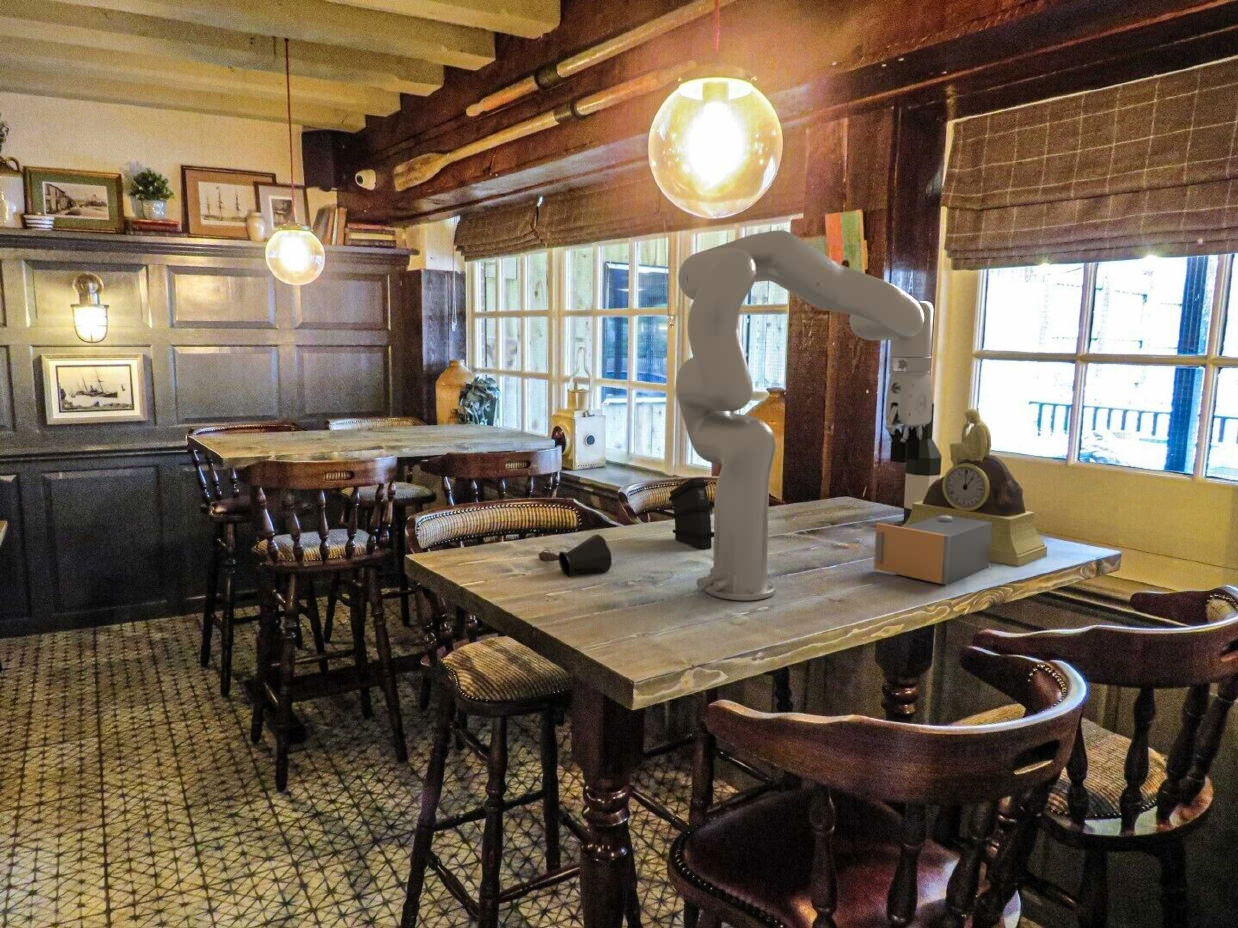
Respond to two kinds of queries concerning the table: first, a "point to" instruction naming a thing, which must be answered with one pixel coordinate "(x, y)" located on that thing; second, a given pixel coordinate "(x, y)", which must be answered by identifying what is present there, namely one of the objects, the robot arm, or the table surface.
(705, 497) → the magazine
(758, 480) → the robot arm
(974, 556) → the grey box with knob
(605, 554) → the coffee pot
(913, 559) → the side door
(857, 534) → the table surface
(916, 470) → the wine bottle
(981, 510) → the decorative clock
